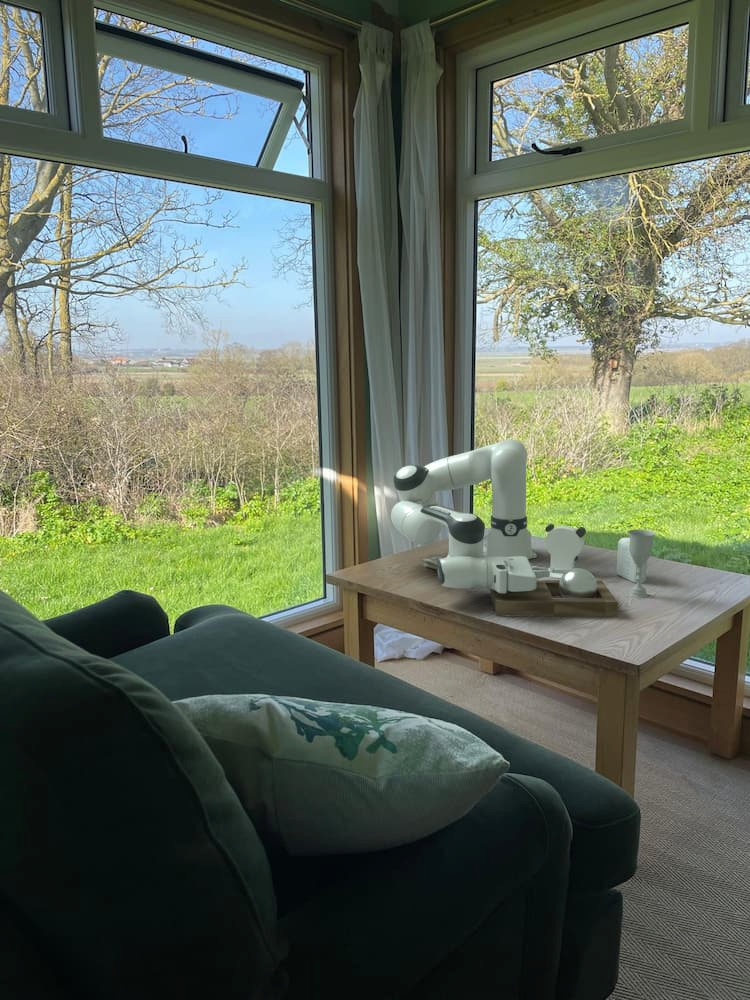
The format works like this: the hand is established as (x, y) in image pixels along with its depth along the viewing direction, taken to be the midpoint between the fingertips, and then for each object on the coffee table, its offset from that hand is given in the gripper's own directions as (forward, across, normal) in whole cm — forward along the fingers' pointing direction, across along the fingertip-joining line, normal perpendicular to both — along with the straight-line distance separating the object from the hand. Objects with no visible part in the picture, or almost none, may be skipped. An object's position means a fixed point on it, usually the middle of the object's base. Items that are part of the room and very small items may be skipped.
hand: (549, 572), depth 193 cm
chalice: (+26, -8, -9) cm, 29 cm away
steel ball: (+8, 0, -4) cm, 9 cm away
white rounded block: (+28, -23, -9) cm, 37 cm away
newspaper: (-19, -27, -10) cm, 34 cm away
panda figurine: (+9, -28, -9) cm, 31 cm away
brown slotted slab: (0, 0, -9) cm, 9 cm away
